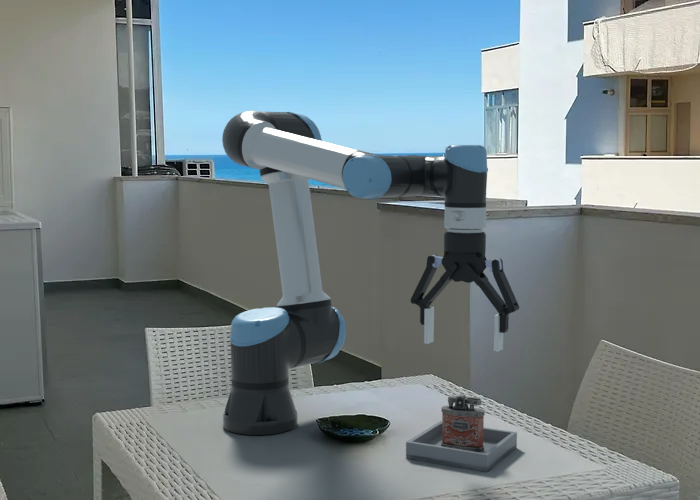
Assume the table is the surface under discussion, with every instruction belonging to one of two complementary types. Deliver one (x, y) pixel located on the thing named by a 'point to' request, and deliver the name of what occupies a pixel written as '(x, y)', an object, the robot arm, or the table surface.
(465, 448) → the lighter
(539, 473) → the table surface
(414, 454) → the tray
